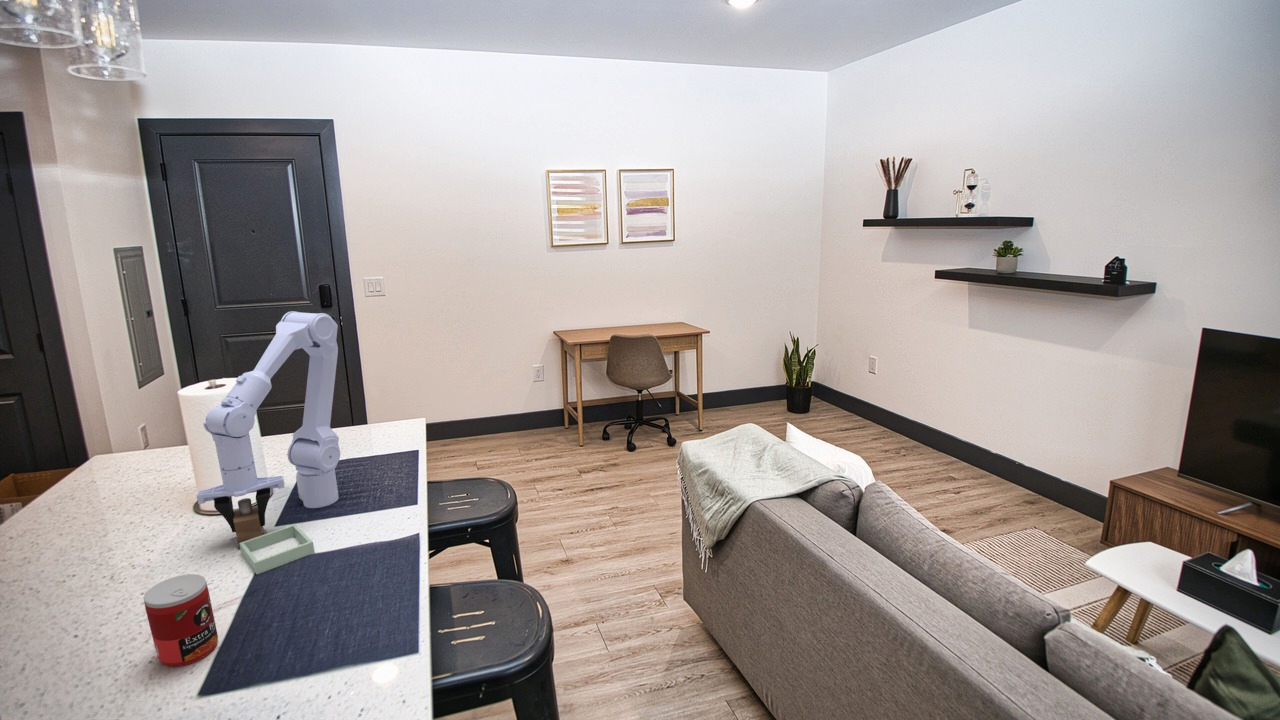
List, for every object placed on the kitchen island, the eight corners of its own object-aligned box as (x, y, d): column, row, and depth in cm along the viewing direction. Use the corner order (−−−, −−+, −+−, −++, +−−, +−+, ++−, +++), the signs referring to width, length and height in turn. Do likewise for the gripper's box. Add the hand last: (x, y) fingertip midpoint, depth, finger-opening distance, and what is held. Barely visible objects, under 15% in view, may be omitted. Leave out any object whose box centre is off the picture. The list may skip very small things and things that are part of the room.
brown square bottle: (239, 534, 128) (232, 498, 126) (263, 529, 129) (256, 494, 127) (238, 544, 124) (230, 507, 122) (262, 538, 126) (255, 502, 124)
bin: (242, 559, 122) (239, 543, 121) (297, 539, 129) (295, 523, 128) (257, 580, 115) (254, 563, 114) (315, 557, 122) (312, 541, 121)
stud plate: (231, 544, 127) (226, 521, 126) (264, 532, 131) (260, 511, 130) (239, 555, 123) (234, 532, 122) (273, 543, 127) (269, 521, 126)
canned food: (191, 671, 93) (176, 606, 90) (144, 665, 94) (128, 601, 91) (231, 636, 100) (219, 575, 97) (187, 631, 101) (174, 571, 99)
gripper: (189, 480, 116) (203, 545, 119) (279, 464, 123) (289, 526, 126) (194, 466, 122) (207, 529, 125) (279, 451, 129) (290, 511, 132)
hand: (249, 526), depth 126 cm, fingers closed on brown square bottle, 4 cm apart
